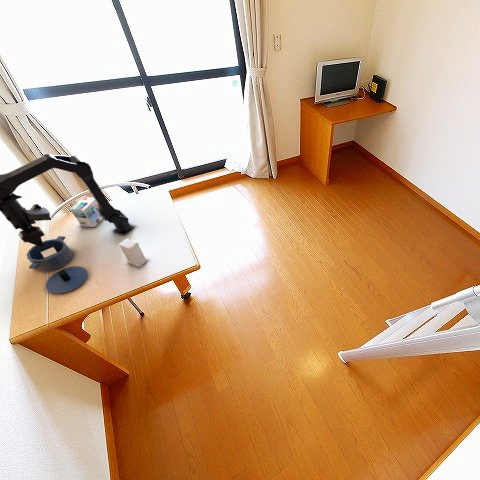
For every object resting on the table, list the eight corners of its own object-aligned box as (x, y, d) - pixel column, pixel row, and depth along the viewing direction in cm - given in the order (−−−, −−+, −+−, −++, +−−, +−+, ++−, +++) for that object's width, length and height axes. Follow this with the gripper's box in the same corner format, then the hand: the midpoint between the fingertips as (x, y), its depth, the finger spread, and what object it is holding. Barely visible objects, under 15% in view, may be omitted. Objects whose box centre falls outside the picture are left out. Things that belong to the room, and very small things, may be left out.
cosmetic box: (147, 260, 126) (137, 242, 118) (140, 267, 123) (129, 248, 115) (136, 256, 127) (126, 238, 119) (128, 263, 124) (117, 244, 116)
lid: (95, 268, 120) (89, 260, 116) (75, 295, 110) (68, 287, 106) (61, 267, 119) (54, 258, 115) (38, 293, 109) (29, 285, 105)
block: (58, 253, 123) (53, 247, 120) (62, 259, 122) (56, 252, 119) (46, 259, 121) (40, 252, 118) (50, 264, 119) (44, 257, 116)
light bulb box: (94, 227, 137) (84, 210, 130) (80, 226, 137) (69, 209, 130) (106, 214, 145) (97, 197, 138) (93, 213, 145) (83, 196, 137)
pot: (83, 245, 128) (75, 236, 124) (56, 276, 115) (47, 267, 111) (53, 244, 128) (45, 234, 123) (23, 275, 114) (13, 265, 110)
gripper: (48, 212, 103) (70, 242, 114) (32, 191, 111) (54, 221, 122) (9, 226, 97) (36, 256, 108) (-6, 202, 104) (21, 233, 115)
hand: (38, 240), depth 113 cm, fingers open, 9 cm apart
